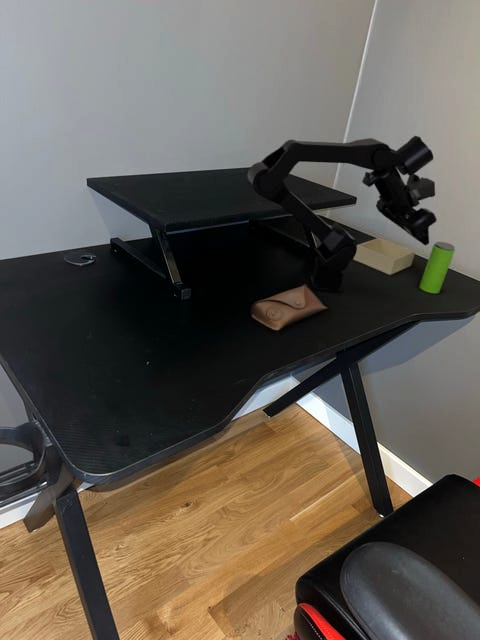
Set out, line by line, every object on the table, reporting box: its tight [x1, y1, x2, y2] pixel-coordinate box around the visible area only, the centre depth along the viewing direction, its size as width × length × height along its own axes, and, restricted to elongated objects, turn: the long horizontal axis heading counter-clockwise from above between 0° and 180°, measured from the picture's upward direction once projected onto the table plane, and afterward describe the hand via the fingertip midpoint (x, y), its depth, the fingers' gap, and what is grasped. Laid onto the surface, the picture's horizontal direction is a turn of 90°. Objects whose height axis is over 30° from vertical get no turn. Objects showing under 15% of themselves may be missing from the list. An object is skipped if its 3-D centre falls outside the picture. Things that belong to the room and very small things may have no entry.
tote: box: [353, 237, 416, 276], centre depth 133 cm, size 12×12×4 cm
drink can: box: [419, 241, 456, 294], centre depth 118 cm, size 5×5×12 cm
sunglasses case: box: [250, 283, 328, 332], centre depth 101 cm, size 18×7×7 cm
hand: (417, 237), depth 114 cm, fingers open, 9 cm apart
